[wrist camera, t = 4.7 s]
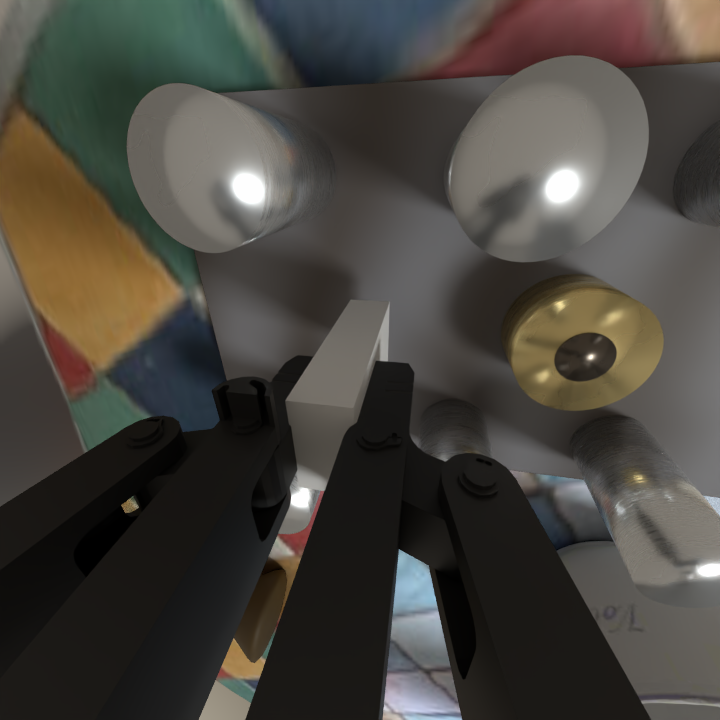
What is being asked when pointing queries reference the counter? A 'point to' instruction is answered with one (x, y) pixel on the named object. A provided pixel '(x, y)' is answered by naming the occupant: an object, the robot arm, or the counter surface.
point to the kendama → (261, 614)
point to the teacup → (651, 636)
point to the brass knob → (580, 342)
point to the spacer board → (479, 268)
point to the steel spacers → (486, 230)
